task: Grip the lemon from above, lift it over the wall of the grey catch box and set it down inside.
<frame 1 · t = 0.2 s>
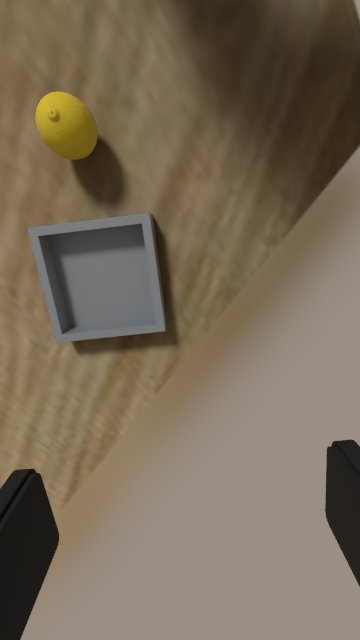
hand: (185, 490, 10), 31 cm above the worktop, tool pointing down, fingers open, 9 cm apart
catch box: (106, 277, 38), on the worktop
lemon: (82, 140, 34), on the worktop
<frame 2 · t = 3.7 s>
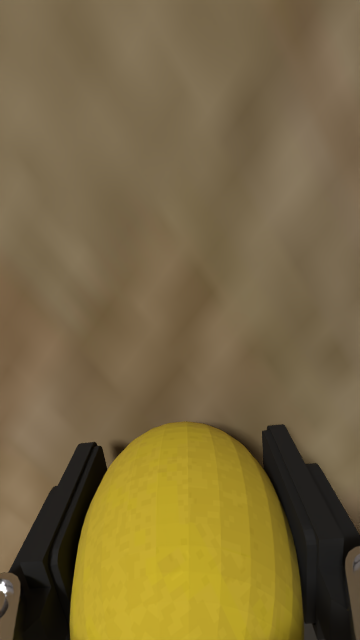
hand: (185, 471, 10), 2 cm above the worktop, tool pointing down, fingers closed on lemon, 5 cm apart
lemon: (185, 437, 12), on the worktop, touching gripper
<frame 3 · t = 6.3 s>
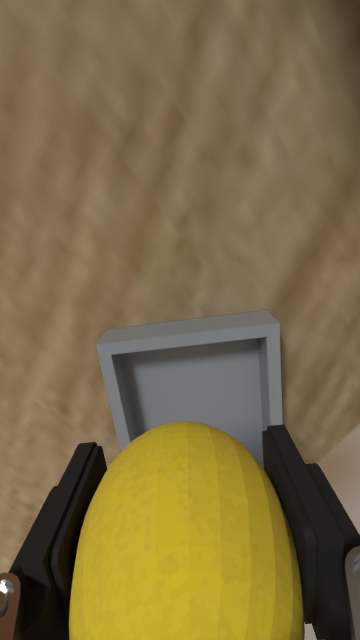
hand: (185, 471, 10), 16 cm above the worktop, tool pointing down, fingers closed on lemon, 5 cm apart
catch box: (195, 390, 28), on the worktop
lemon: (185, 437, 12), point 14 cm above the worktop, touching gripper
when the fingers open (4 cm above the worktop, at t = 9.4 s): lemon drops 2 cm, resting on catch box.
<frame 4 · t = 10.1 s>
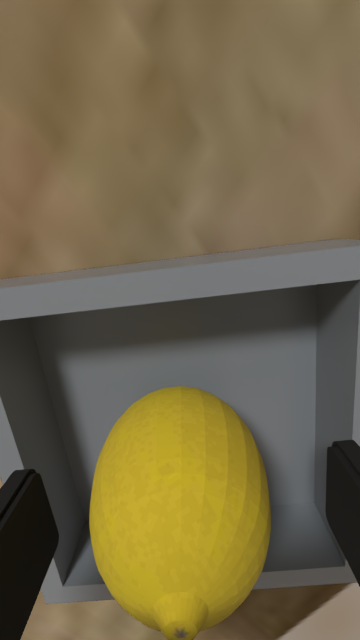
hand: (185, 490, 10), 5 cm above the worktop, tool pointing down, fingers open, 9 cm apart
catch box: (184, 406, 14), on the worktop
lemon: (179, 408, 14), resting on catch box
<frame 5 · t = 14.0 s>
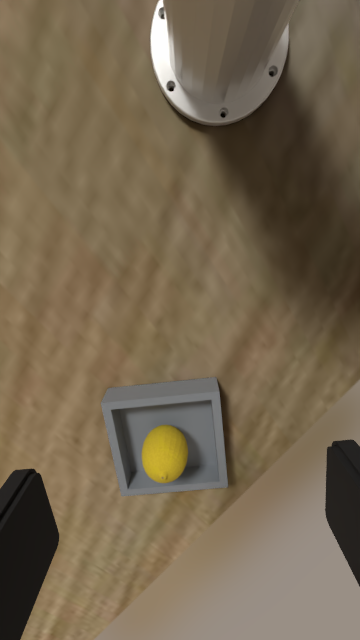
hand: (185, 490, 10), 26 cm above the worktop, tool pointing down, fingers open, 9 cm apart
catch box: (168, 428, 40), on the worktop
lemon: (166, 429, 39), resting on catch box
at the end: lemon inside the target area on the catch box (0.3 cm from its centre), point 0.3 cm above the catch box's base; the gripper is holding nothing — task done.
